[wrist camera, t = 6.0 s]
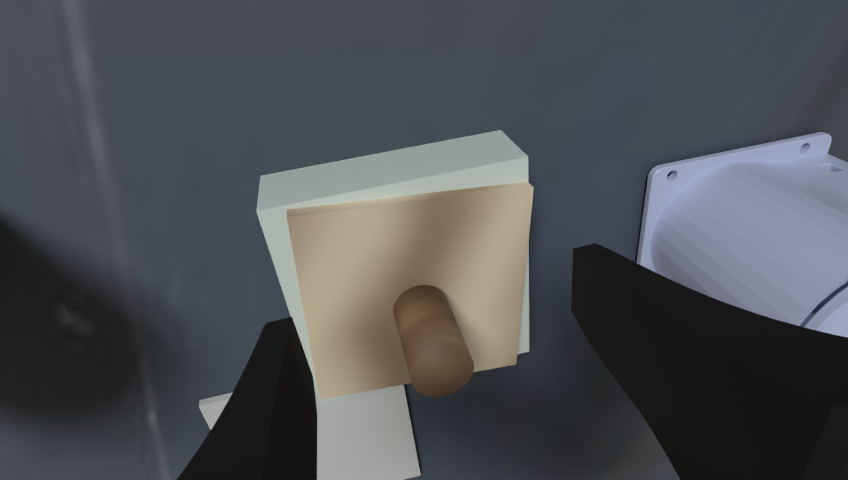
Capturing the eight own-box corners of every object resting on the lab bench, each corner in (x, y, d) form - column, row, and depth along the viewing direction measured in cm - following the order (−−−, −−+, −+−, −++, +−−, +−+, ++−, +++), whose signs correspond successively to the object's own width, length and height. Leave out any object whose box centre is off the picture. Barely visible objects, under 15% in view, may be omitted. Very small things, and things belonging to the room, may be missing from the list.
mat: (397, 353, 27) (398, 358, 27) (419, 469, 32) (420, 474, 32) (199, 400, 26) (198, 406, 25) (256, 512, 31) (256, 519, 31)
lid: (527, 181, 20) (584, 242, 16) (511, 355, 25) (552, 435, 21) (286, 209, 18) (285, 284, 14) (318, 389, 23) (324, 482, 19)
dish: (497, 127, 22) (528, 156, 19) (504, 307, 28) (529, 351, 25) (261, 172, 21) (256, 210, 18) (316, 351, 26) (319, 403, 23)
